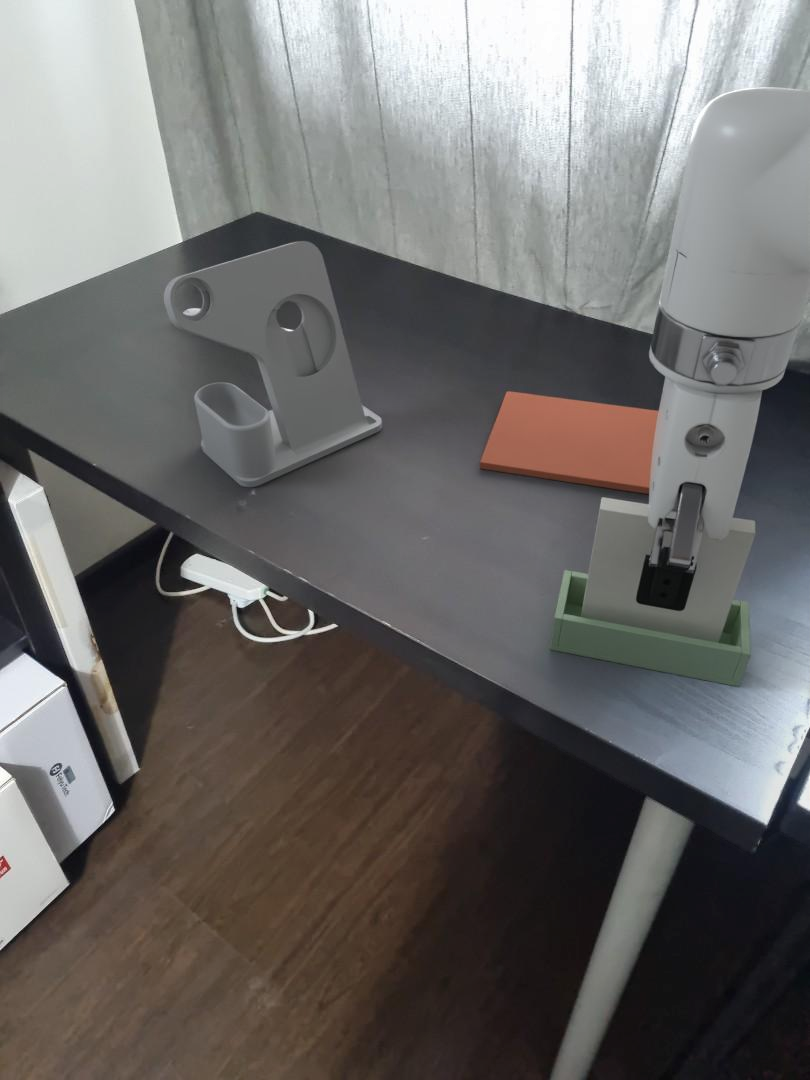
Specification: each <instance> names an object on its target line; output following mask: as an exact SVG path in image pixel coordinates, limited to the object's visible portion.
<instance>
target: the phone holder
mask: <svg viewBox="0 0 810 1080" xmlns="http://www.w3.org/2000/svg"><path fill="white" fill-rule="evenodd" d="M187 284H189V285H192V286H194V287H196V289H198V291H199V292H200V294H201V298H202V306H201V308H200V309H201V310H200V311H199V312H198V313H197V314H195V315H192V316H188V315H185V314H183V312H182V311H181V310H180V309H179V307H178V306H177V303H176V294H177V291H178V290H179V289H180V287H182V286H183V285H187ZM286 302H292V303H294V304H296V305H297V306H298V308H299V309H300V313H301V321H300V324H299V325H298V327H296V328H295V329H292V330H293V331H286V330H285V329H284V328H285V327H281V325H280V323H279V321H278V319H277V313H278V310H280V308H281V307H282V305H284V303H286ZM163 303H164V307H165V310H166V313H167V315H168V319H169V321H170V322H171V324H172V325H173V326H174V327H175V328H176V329H178V330H180V331H182V332H185V333H188V334H191V335H193V336H197V337H200V338H202V339H205V340H208V341H211V342H214V343H217V344H220V345H222V346H225V347H229V348H231V349H234V350H237V351H240V352H243V353H246V354H249V355H250V356H252V357H253V358H254V359H255V360H256V362H257V364H258V368H259V372H260V374H261V377H262V380H263V384H264V387H265V390H266V393H267V396H268V400H269V404H270V407H271V409H270V410H268V409H267V408H265V406H263V405H261V403H259V402H258V401H256V400H255V399H254V398H252V397H251V396H250V395H249V394H247V393H246V392H245V391H244V390H242V389H241V388H239V386H237V385H235V384H233V383H229V382H213V383H209V384H206V385H203V386H202V387H200V388H199V389H198V390H197V391H196V392H195V394H194V396H193V399H194V400H193V401H194V404H195V409H196V414H197V419H198V425H199V428H200V429H199V430H200V433H201V438H202V439H201V441H200V446H201V450H202V452H203V454H205V455H206V456H207V457H208V458H209V459H211V460H212V462H214V463H215V464H216V465H217V466H218V467H219V468H221V469H222V470H223V471H224V472H225V473H226V474H227V475H228V476H229V477H230V478H231V479H232V480H234V482H236V483H237V484H238V485H240V486H241V487H244V488H255V487H258V486H261V485H263V484H265V483H268V482H271V481H272V480H274V479H276V478H280V477H281V476H283V475H285V474H287V473H290V472H292V471H295V470H297V469H299V468H301V467H303V466H306V465H308V464H310V463H313V462H315V461H317V460H319V459H321V458H323V457H325V456H328V455H331V454H332V453H334V452H337V451H339V450H341V449H344V448H346V447H348V446H350V445H352V444H354V443H357V442H358V441H361V440H363V439H366V438H368V437H370V436H372V435H374V434H377V433H378V432H380V431H381V430H382V428H383V421H382V417H380V416H379V415H377V414H376V413H374V412H373V411H372V410H371V409H369V408H367V407H366V406H364V405H363V403H362V400H361V395H360V393H359V388H358V386H357V381H356V377H355V373H354V370H353V366H352V361H351V358H350V354H349V350H348V346H347V342H346V339H345V335H344V332H343V328H342V324H341V320H340V317H339V313H338V309H337V305H336V301H335V298H334V294H333V290H332V286H331V284H330V279H329V275H328V271H327V267H326V264H325V260H324V256H323V254H322V252H321V250H320V249H319V247H317V246H316V245H315V244H314V243H312V242H311V241H307V240H300V241H292V242H289V243H285V244H282V245H279V246H276V247H273V248H269V249H266V250H262V251H259V252H256V253H252V254H249V255H245V256H242V257H238V258H235V259H232V260H229V261H225V262H222V263H219V264H215V265H212V266H209V267H205V268H202V269H199V270H196V271H192V272H188V273H185V274H182V275H179V276H176V277H174V278H173V279H171V280H170V281H169V282H168V283H167V285H166V287H165V289H164V292H163Z"/></svg>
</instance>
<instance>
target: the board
mask: <svg viewBox="0 0 810 1080" xmlns="http://www.w3.org/2000/svg"><path fill="white" fill-rule="evenodd" d="M648 510H649V503H642V502H636V501H629V500H623V499H616V498H611V497H604V496H603V497H601V499H600V505H599V511H598V516H597V522H596V528H595V534H594V539H593V543H592V551H591V557H590V560H589V561H590V562H589V567H588V573H587V574H588V578H587V584H586V590H585V596H584V601H583V607H582V613H581V617H583V618H588V619H594V620H599V621H604V622H610V623H615V624H620V625H626V626H631V627H636V628H642V629H647V630H652V631H658V632H663V633H668V634H674V635H679V636H684V637H690V638H695V639H700V640H706V641H711V642H716V643H719V640H720V637H721V634H722V631H723V628H724V625H725V622H726V619H727V616H728V613H729V610H730V608H731V605H732V602H733V600H735V599H734V598H735V595H736V593H737V590H738V587H739V583H740V581H741V578H742V575H743V572H744V569H745V566H746V563H747V560H748V557H749V555H750V552H751V549H752V545H753V542H754V539H755V537H756V521H755V520H752V519H745V518H738V517H733V518H732V522H731V526H730V530H729V534H728V535H727V536H726V537H725V538H724V539H722V540H717V539H713V538H708V537H707V533H706V529H705V525H704V528H703V534H702V537H701V542H700V547H699V551H698V556H697V560H696V563H697V568H696V572H695V575H694V578H693V582H692V585H691V589H690V592H689V596H688V599H687V603H686V606H685V609H684V610H682V611H675V610H670V609H664V608H659V607H653V606H648V605H642V604H639V603H637V601H636V595H637V590H638V586H639V582H640V577H641V573H642V569H643V564H644V560H645V556H646V555H650V554H651V549H652V544H653V539H654V534H655V529H654V528H653V527H652V526H651V525H650V524H649V522H648ZM675 515H676V512H673V511H671V512H670V513H669V514H668V515H667V516H666V518H672V519H675ZM671 538H672V532H667V531H665V533H664V538H663V543H662V548H663V547H669V546H670V543H671ZM662 548H661V549H662Z"/></svg>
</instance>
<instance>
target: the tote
mask: <svg viewBox="0 0 810 1080" xmlns="http://www.w3.org/2000/svg"><path fill="white" fill-rule="evenodd" d="M562 574H563V575H562V580H561V584H560V589H559V594H558V598H557V602H556V609H555V612H554V616H553V624H552V630H551V638H550V646H549V650H551V651H555V652H561V653H565V654H570V655H575V656H580V657H585V658H591V659H596V660H601V661H605V662H610V663H611V662H612V663H616V664H621V665H626V666H631V667H637V668H641V669H645V670H651V671H657V672H661V673H665V674H671V675H676V676H681V677H687V678H692V679H697V680H702V681H707V682H712V683H716V684H723V685H727V686H731V687H732V686H733V687H736V688H737V687H738V688H739V687H740V684H741V682H742V680H743V676H744V675H745V672H746V670H747V669H746V668H747V666H748V664H749V661H750V658H751V656H752V650H751V646H752V645H751V625H750V624H751V620H750V619H751V618H750V602H749V601H743V600H738V599H733V602H732V605H731V608H730V610H729V613H728V616H727V619H726V622H725V625H724V628H723V631H722V634H721V637H720V640H719V643H716V642H711V641H706V640H700V639H695V638H690V637H684V636H679V635H674V634H668V633H663V632H658V631H652V630H647V629H642V628H636V627H631V626H626V625H620V624H615V623H610V622H604V621H599V620H594V619H588V618H583V617H581V613H582V607H583V601H584V596H585V590H586V584H587V578H588V573H584V572H579V571H573V570H567V569H564V570H563V573H562Z"/></svg>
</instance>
